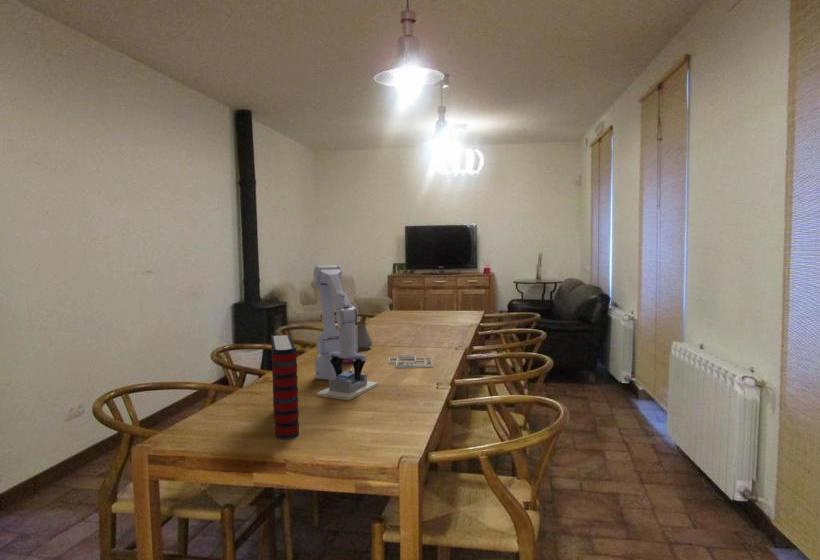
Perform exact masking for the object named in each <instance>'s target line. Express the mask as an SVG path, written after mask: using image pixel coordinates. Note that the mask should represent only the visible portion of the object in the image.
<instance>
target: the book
mask: <svg viewBox="0 0 820 560" xmlns="http://www.w3.org/2000/svg"><path fill="white" fill-rule="evenodd" d="M291 336H292V335H291V334H290V333H287V334H285V335H284V334H283V335H273V334H270V341H271V342H270V343H271V344H270V345H271V347H270V348H271V349H270V350H271V370H272V373H271V374H272V376H271V377H272V398H273V399H272V400H273V403H272V405H273V417H274V424H275V425H274V426H273V428H274V434H275V438H276V439H278V440H290V439H294V438H296V437H299V436H300V435H299V434H300V422H299V418H300V417H299V416H300V415H299V413H300V412H299V398H298V394H299V393H298V392H299V387H298V374H297V373H298V363H297V361H298V360H297V358H298V357H297V356H298V351H297V347H296V346H295V344H294V342H293V339H292V337H291Z"/></svg>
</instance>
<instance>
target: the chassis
mask: <svg viewBox="0 0 820 560" xmlns="http://www.w3.org/2000/svg"><path fill="white" fill-rule="evenodd" d="M377 386H379V382H377V381H376V382H375V381H370V380H368V374H367V373H362V372H361V375H360V379H359V380H358V382H356V383H353V384H352V381H350V380H346V381H343V380H336V379H334V378H331V379H329V380H328V387H326V388H325V389H323V390H320V391H318V392H317V393H316V396H318V397H324V398H330V399H338V400H343V401H344V400H345V401H351V400H353V399H354V398H356V397H358V396H360V395H362V394H364V393H366V392H367V391H370V390H371V389H373V388H375V387H377Z"/></svg>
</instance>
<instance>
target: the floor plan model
mask: <svg viewBox="0 0 820 560" xmlns="http://www.w3.org/2000/svg"><path fill="white" fill-rule="evenodd" d="M401 360H404V361H401ZM405 360H406V361H405ZM407 360H408V361H407ZM410 360H411V361H410ZM416 363H424V364H416ZM387 364H388V365H395V368H396V369H414V368H415V369H427V368H428V369H430V368H431V369H432V368H433V367H434V366H433V361H432V358H431V357H416V355H415V354H398V357H388V363H387ZM427 364H428V365H427ZM429 364H430V365H429Z"/></svg>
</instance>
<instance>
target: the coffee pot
mask: <svg viewBox="0 0 820 560" xmlns="http://www.w3.org/2000/svg"><path fill="white" fill-rule="evenodd" d="M355 325H357V326H358V351H365V350H368V349H369V348H370V347H371V346H372V345H373V341H372V338H371V336H370V333H369V332H368V329H367V328H366V326H367V321H357V322H356V323H355Z"/></svg>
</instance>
